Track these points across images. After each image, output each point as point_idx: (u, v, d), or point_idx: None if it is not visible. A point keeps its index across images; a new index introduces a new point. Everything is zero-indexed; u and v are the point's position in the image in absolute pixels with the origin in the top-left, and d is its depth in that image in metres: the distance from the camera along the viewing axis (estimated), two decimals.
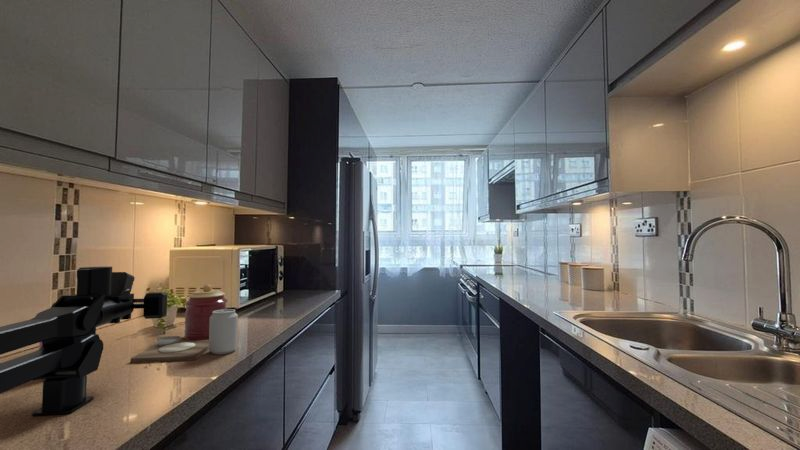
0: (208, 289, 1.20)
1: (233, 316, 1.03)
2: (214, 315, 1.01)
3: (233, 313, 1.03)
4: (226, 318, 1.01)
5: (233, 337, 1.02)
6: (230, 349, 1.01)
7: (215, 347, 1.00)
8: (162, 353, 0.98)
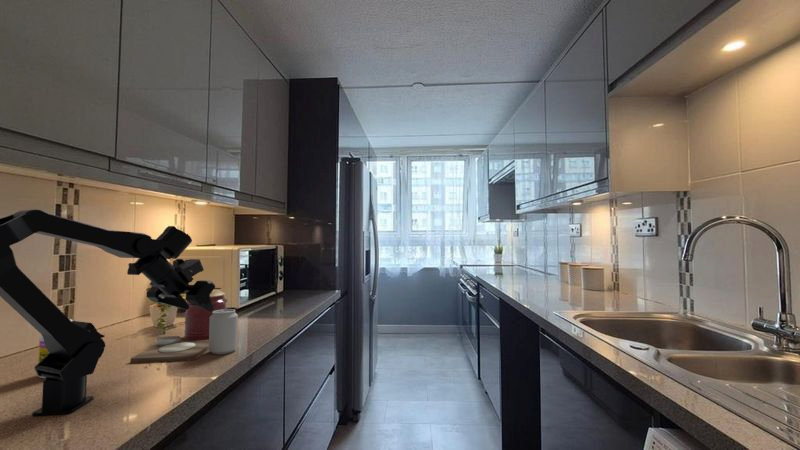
0: None
1: (233, 316, 1.03)
2: (214, 315, 1.01)
3: (233, 313, 1.03)
4: (226, 318, 1.01)
5: (233, 337, 1.02)
6: (230, 349, 1.01)
7: (215, 347, 1.00)
8: (162, 353, 0.98)
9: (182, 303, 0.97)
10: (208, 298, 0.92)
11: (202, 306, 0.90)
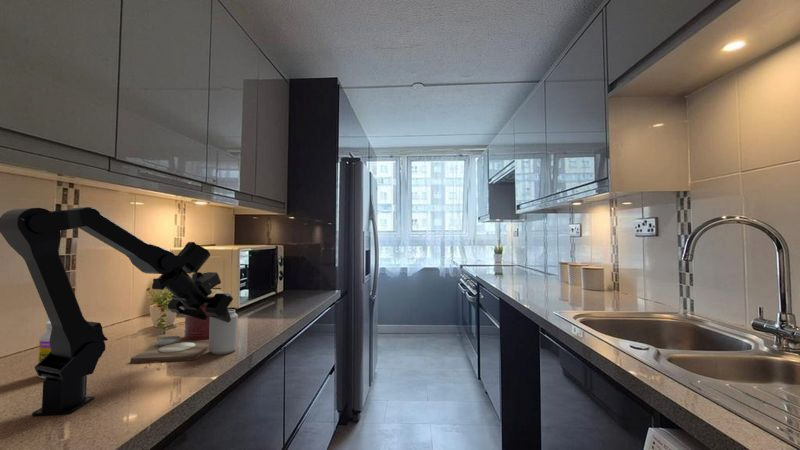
0: None
1: (233, 316, 1.03)
2: None
3: (233, 313, 1.03)
4: None
5: (233, 337, 1.02)
6: (230, 349, 1.01)
7: (215, 347, 1.00)
8: (162, 353, 0.98)
9: (200, 314, 1.02)
10: (226, 310, 0.97)
11: (220, 317, 0.95)
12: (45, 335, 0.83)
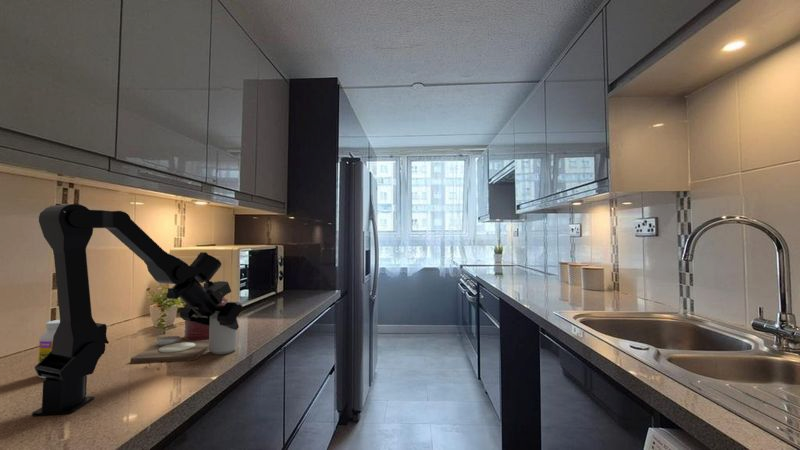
0: None
1: None
2: (214, 315, 1.01)
3: None
4: None
5: (233, 337, 1.02)
6: (230, 349, 1.01)
7: (215, 347, 1.00)
8: (162, 353, 0.98)
9: None
10: None
11: (229, 325, 0.99)
12: (45, 335, 0.83)
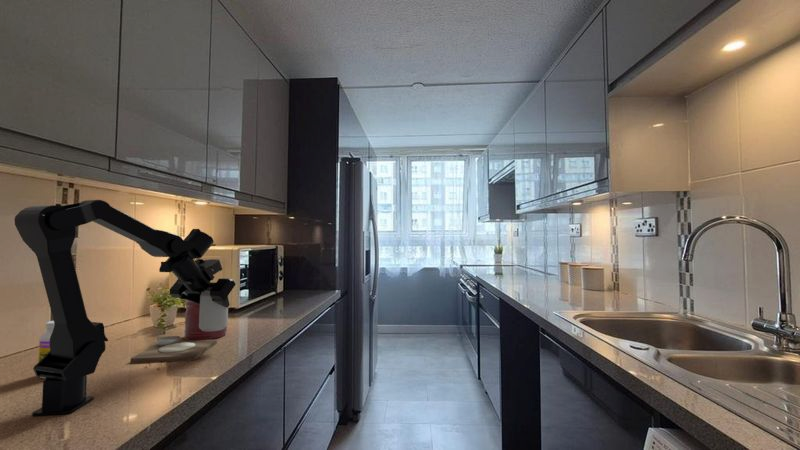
0: None
1: None
2: (205, 292, 1.01)
3: None
4: None
5: (224, 314, 1.03)
6: (221, 326, 1.02)
7: (206, 324, 1.00)
8: (162, 353, 0.98)
9: None
10: None
11: (221, 302, 1.00)
12: (45, 335, 0.83)
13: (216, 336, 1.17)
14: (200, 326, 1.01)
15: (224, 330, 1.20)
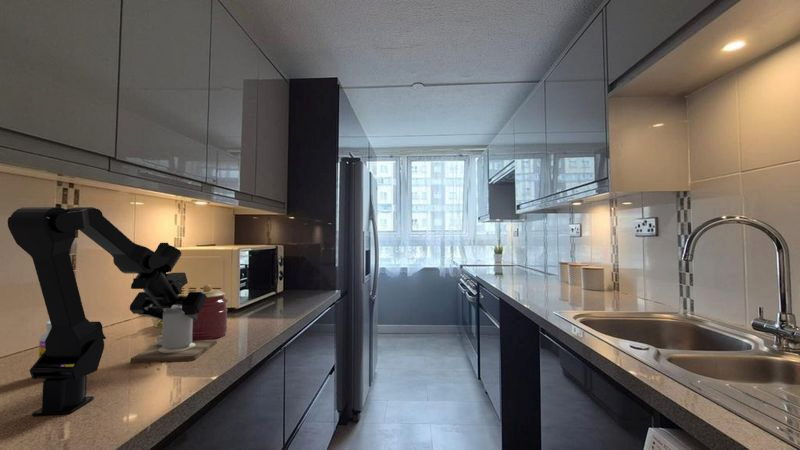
0: (208, 289, 1.20)
1: None
2: (170, 310, 1.00)
3: None
4: (184, 312, 1.01)
5: (190, 331, 1.03)
6: (187, 343, 1.02)
7: (172, 342, 0.99)
8: (162, 353, 0.98)
9: (162, 314, 1.03)
10: None
11: (193, 315, 1.00)
12: (45, 335, 0.83)
13: (216, 336, 1.17)
14: (164, 345, 0.99)
15: (224, 330, 1.20)
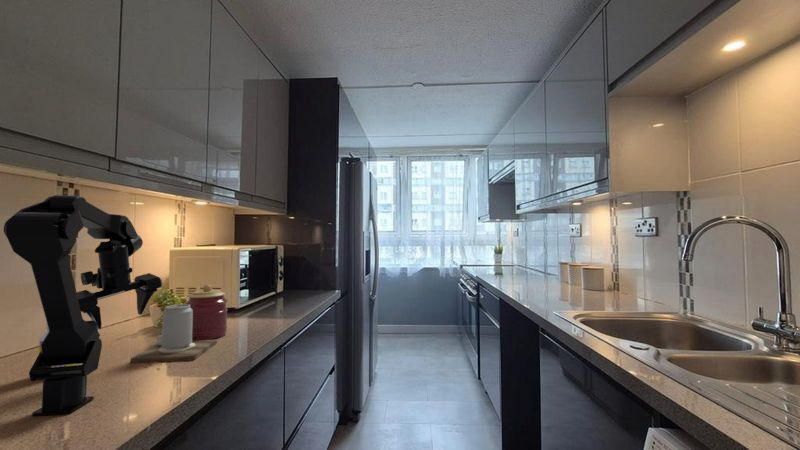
0: (208, 289, 1.20)
1: (190, 310, 1.03)
2: (170, 310, 1.00)
3: (189, 307, 1.04)
4: (184, 312, 1.01)
5: (190, 331, 1.03)
6: (187, 343, 1.02)
7: (172, 342, 0.99)
8: (162, 353, 0.98)
9: None
10: None
11: None
12: (45, 335, 0.83)
13: (216, 336, 1.17)
14: (164, 345, 0.99)
15: (224, 330, 1.20)
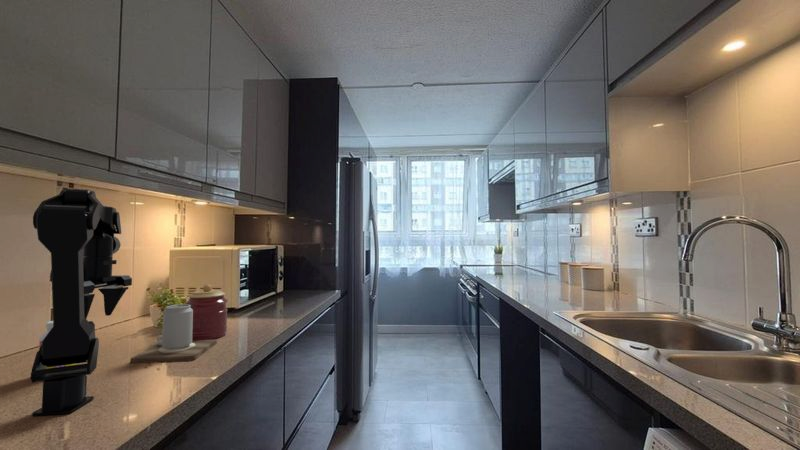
0: (208, 289, 1.20)
1: (190, 310, 1.03)
2: (170, 310, 1.00)
3: (189, 307, 1.04)
4: (184, 312, 1.01)
5: (190, 331, 1.03)
6: (188, 343, 1.02)
7: (172, 342, 0.99)
8: (162, 353, 0.98)
9: None
10: None
11: None
12: (45, 335, 0.83)
13: (216, 336, 1.17)
14: (165, 345, 0.99)
15: (224, 330, 1.20)
